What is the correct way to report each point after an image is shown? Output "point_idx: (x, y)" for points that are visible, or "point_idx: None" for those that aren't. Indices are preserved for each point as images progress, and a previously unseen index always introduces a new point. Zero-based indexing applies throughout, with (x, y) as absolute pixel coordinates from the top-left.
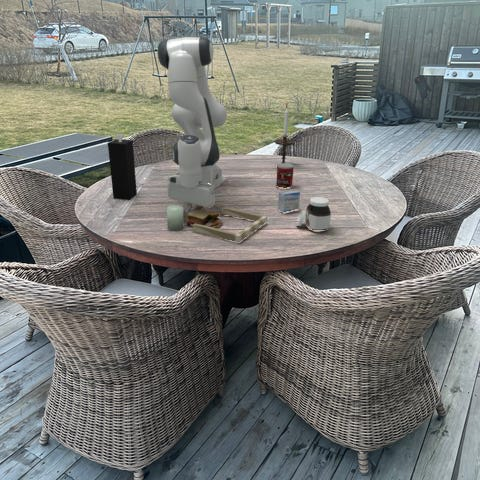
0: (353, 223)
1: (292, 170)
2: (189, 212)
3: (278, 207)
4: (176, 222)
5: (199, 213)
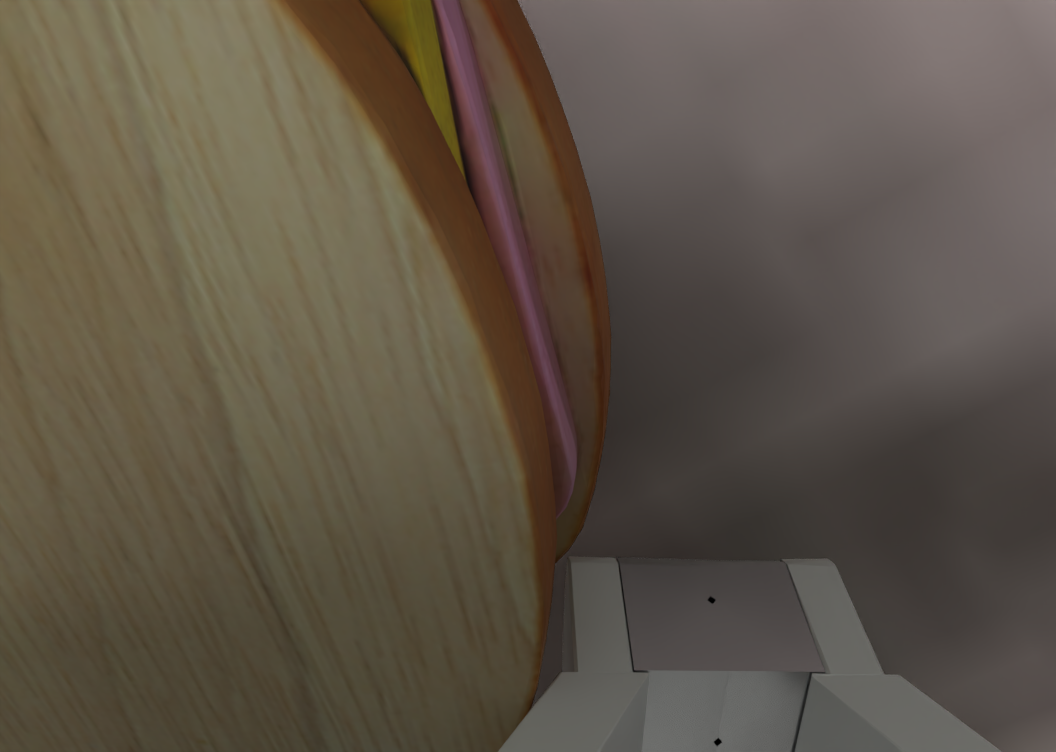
0: None
1: None
2: (417, 307)
3: None
4: None
5: (75, 554)
